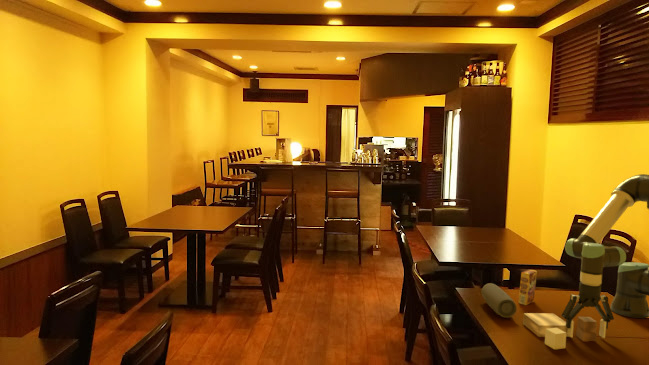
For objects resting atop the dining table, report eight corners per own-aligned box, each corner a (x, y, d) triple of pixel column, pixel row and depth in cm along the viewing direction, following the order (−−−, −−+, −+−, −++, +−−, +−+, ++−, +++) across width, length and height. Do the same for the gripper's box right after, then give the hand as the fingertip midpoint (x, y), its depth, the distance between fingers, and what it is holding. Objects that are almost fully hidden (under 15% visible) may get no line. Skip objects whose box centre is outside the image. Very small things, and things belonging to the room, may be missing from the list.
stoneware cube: (555, 342, 185) (556, 327, 185) (565, 348, 180) (566, 332, 180) (544, 343, 184) (545, 328, 183) (554, 349, 179) (555, 334, 178)
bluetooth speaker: (517, 321, 206) (518, 298, 205) (495, 320, 206) (496, 297, 205) (499, 302, 229) (500, 282, 228) (479, 302, 229) (480, 281, 228)
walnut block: (588, 336, 192) (589, 316, 191) (595, 341, 187) (597, 321, 186) (575, 336, 192) (577, 316, 191) (583, 341, 187) (584, 321, 186)
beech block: (552, 324, 204) (553, 313, 204) (570, 337, 191) (571, 325, 191) (522, 324, 203) (523, 313, 203) (538, 337, 190) (539, 325, 190)
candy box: (527, 305, 226) (529, 274, 224) (518, 303, 229) (520, 272, 227) (534, 301, 232) (537, 270, 230) (525, 299, 235) (528, 268, 233)
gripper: (615, 280, 192) (610, 332, 194) (554, 279, 191) (550, 331, 193) (627, 286, 184) (622, 340, 186) (564, 285, 183) (560, 339, 185)
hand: (585, 336), depth 189 cm, fingers open, 12 cm apart
